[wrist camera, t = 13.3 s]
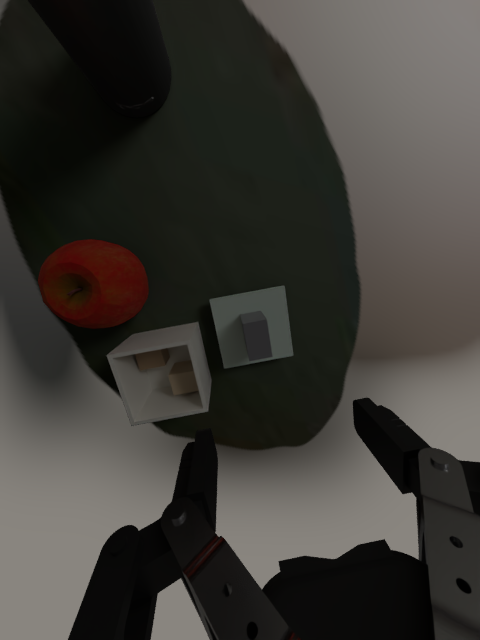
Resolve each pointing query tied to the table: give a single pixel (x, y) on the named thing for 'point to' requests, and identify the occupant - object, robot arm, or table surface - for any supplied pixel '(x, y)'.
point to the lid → (252, 326)
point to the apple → (93, 284)
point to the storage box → (162, 373)
